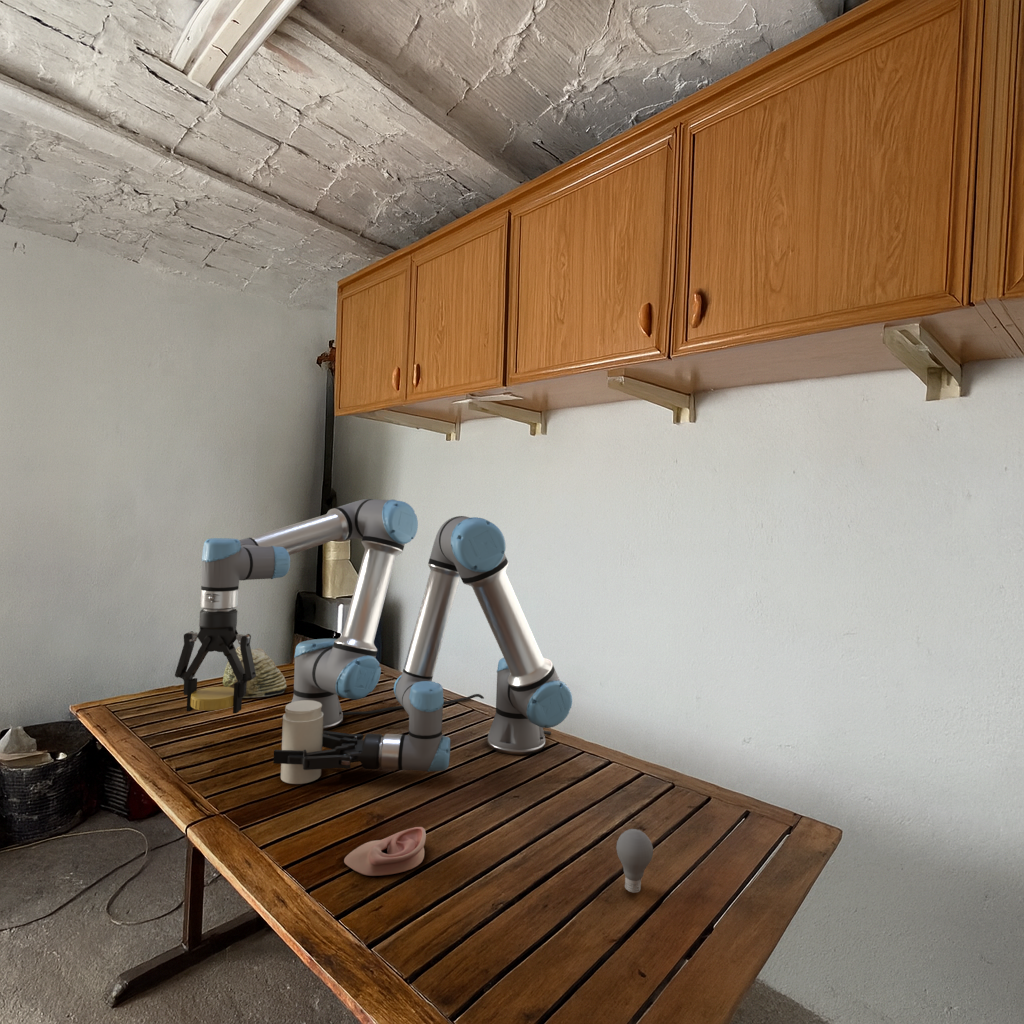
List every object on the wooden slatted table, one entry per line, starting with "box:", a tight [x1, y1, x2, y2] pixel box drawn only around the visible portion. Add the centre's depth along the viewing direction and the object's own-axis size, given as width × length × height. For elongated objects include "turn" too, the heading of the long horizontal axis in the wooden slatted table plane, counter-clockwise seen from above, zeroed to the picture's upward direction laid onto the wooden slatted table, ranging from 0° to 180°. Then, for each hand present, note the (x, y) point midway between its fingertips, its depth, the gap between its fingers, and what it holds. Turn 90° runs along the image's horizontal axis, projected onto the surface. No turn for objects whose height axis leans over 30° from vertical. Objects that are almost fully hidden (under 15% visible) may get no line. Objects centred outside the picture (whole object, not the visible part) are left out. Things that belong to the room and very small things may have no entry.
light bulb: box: [615, 828, 654, 894], centre depth 106 cm, size 6×6×10 cm
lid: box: [190, 686, 234, 712], centre depth 139 cm, size 9×9×2 cm
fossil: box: [222, 646, 288, 699], centre depth 198 cm, size 9×18×15 cm, turn 132°
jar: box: [280, 700, 324, 785], centre depth 143 cm, size 9×9×16 cm
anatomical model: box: [343, 826, 427, 877], centre depth 112 cm, size 13×4×12 cm
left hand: (214, 710), depth 139 cm, fingers closed on lid, 9 cm apart
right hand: (281, 748), depth 143 cm, fingers closed on jar, 9 cm apart
